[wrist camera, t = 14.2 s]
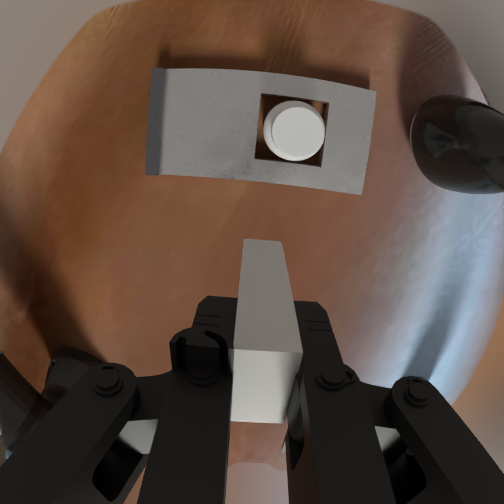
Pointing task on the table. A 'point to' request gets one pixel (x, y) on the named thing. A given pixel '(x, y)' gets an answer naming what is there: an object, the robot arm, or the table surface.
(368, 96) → the jig
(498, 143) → the pump dispenser
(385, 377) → the table surface
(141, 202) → the table surface
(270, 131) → the pill bottle
